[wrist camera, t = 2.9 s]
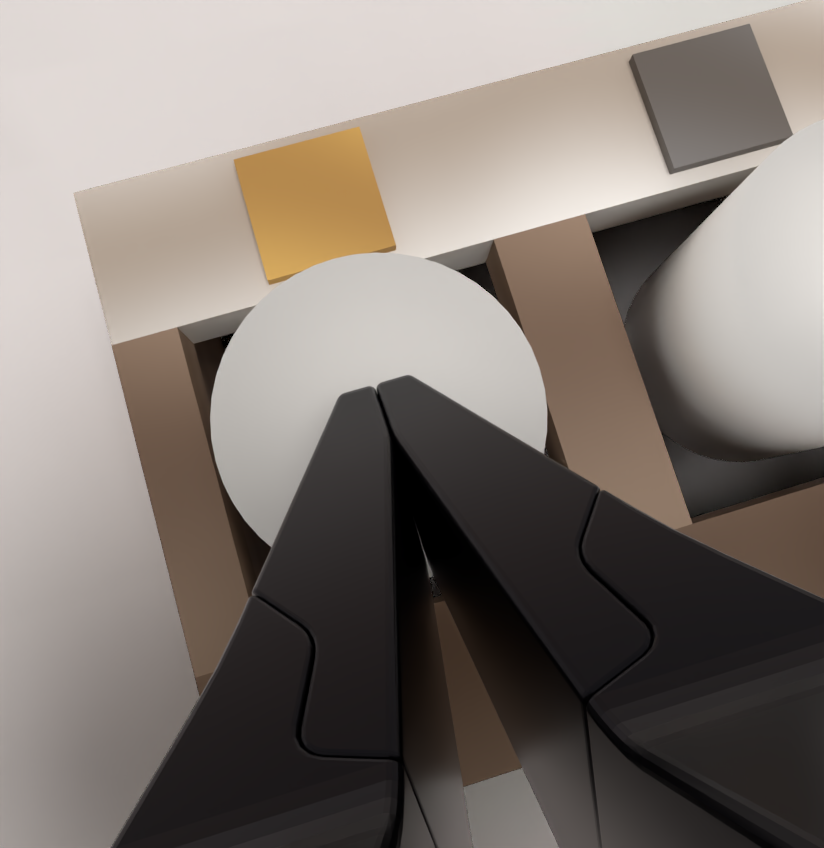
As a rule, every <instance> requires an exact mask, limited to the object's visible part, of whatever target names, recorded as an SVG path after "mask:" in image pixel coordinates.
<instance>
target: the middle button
mask: <svg viewBox="0 0 824 848" xmlns="http://www.w3.org/2000/svg"><path fill="white" fill-rule="evenodd" d="M624 328H625V330H626V333H627V336H628V339H629V342H630V345H631V348H632V351H633V353H634V356H635V359H636V362H637V365H638V368H639V371H640V374H641V377H642V379H643V382H644V385H645V388H646V391H647V394H648V397H649V400H650V402H651V405H652V408H653V411H654V414H655V417H656V420H657V423H658V426H659V428H660V431H661V432H663V433H664V434H665V435H666V436H668V437H669V438H670V439H671V440H673V441H674V442H676V443H677V444H679V445H681V446H682V447H684V448H686V449H688V450H690V451H692V452H694V453H697V454H699V455H702V456H705V457H708V458H712V459H716V460H722V461H728V462H750V461H759V460H764V459H769V458H773V457H778V456H783V455H787V454H792V453H797V452H802V451H806V450H811V449H816V448H821V447H824V119H823V120H820V121H817V122H815V123H813V124H811V125H809V126H807V127H805V128H804V129H802V130H800V131H798V132H797V133H795V134H794V135H792V136H791V137H790V138H788V139H787V140H785V141H784V142H783V143H782V144H780V145H779V146H778V147H777V148H776V149H775V150H774V151H773V152H772V153H771V154H770V155H769V156H768V157H767V158H766V159H765V160H764V161H763V162H762V163H761V164H760V165H759V166H758V167H757V168H756V169H755V170H754V171H753V172H752V173H751V174H750V175H749V176H748V177H747V178H746V179H745V180H744V181H743V182H742V183H741V184H740V185H739V186H738V187H737V188H736V189H735V190H734V191H733V192H732V193H731V194H730V195H729V196H728V197H727V198H726V199H725V200H724V201H723V202H722V203H721V204H720V205H719V206H718V207H717V208H716V209H715V210H714V211H713V212H712V213H711V214H710V215H709V216H708V218H707V219H706V220H705V221H704V222H703V223H702V224H701V225H700V226H699V227H698V228H697V229H696V230H695V231H694V232H693V233H692V234H691V235H690V236H689V237H688V238H687V239H686V240H685V241H684V242H683V243H682V244H681V245H680V246H679V247H678V248H677V249H676V250H675V251H674V252H673V253H672V254H671V255H670V256H669V257H668V258H667V259H666V260H665V261H664V262H663V263H662V264H661V265H660V266H659V267H658V268H657V269H656V270H655V271H654V272H653V273H652V274H651V275H650V276H649V277H648V279H647V280H646V281H645V282H644V284H643V285H642V286H641V287H640V289H639V291H638V292H637V294H636V295H635V297H634V299H633V301H632V303H631V306H630V308H629V310H628V313H627V317H626V320H625V324H624Z"/></svg>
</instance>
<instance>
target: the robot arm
mask: <svg viewBox="0 0 824 848" xmlns="http://www.w3.org/2000/svg"><path fill="white" fill-rule="evenodd" d="M376 389H377V392H376ZM376 389H375V388H374V387H371V386H367V387H363V388H360V389H356V390H353V391H349V392H346V393H343V394H341V395H340V396H339V397H338V399H337V401H336V403H335V405H334V408H333V410H332V412H331V414H330V417H329V419H328V421H327V423H326V426H325V428H324V430H323V432H322V435H321V437H320V439H319V441H318V444H317V446H316V448H315V450H314V453H313V455H312V457H311V459H310V462H309V464H308V466H307V468H306V471H305V473H304V475H303V477H302V480H301V482H300V484H299V486H298V489H297V491H296V493H295V495H294V498H293V500H292V502H291V504H290V507H289V509H288V511H287V513H286V516H285V518H284V520H283V522H282V525H281V527H280V529H279V531H278V534H277V536H276V538H275V540H274V543H273V545H272V547H271V549H270V552H269V554H268V556H267V558H266V561H265V563H264V565H263V567H262V570H261V572H260V574H259V576H258V579H257V581H256V583H255V586H254V588H253V590H252V596H250V597H249V598H248V600H247V603H246V605H245V607H244V609H243V612H242V614H241V616H240V618H239V621H238V623H237V625H236V627H235V629H234V631H233V633H232V635H231V638H230V640H229V642H228V644H227V646H226V648H225V650H224V652H223V654H222V656H221V658H220V660H219V662H218V664H217V666H216V668H215V670H214V672H213V674H212V676H211V677H210V679H209V681H208V683H207V685H206V686H205V688H204V690H203V692H202V693H201V695H200V697H199V699H198V701H197V702H196V704H195V706H194V708H193V709H192V711H191V713H190V715H189V717H188V718H187V720H186V722H185V724H184V725H183V727H182V729H181V730H180V732H179V734H178V735H177V737H176V739H175V740H174V742H173V744H172V745H171V747H170V749H169V750H168V752H167V754H166V755H165V757H164V759H163V760H162V762H161V764H160V766H159V767H158V769H157V771H156V772H155V774H154V776H153V777H152V779H151V781H150V782H149V784H148V786H147V787H146V789H145V791H144V792H143V794H142V796H141V797H140V799H139V801H138V802H137V804H136V806H135V808H134V809H133V811H132V813H131V814H130V816H129V818H128V819H127V821H126V823H125V824H124V826H123V828H122V829H121V831H120V833H119V834H118V836H117V838H116V839H115V841H114V843H113V844H112V846H111V848H473V844H472V838H471V832H470V826H469V819H468V813H467V807H466V801H465V794H464V788H463V782H462V776H461V770H460V763H459V757H458V751H457V745H456V738H455V732H454V726H453V720H452V714H451V707H450V701H449V695H448V689H447V682H446V676H445V670H444V664H443V657H442V651H441V645H440V639H439V633H438V626H437V620H436V614H435V608H434V601H433V595H432V589H431V583H430V578H429V573H428V568H427V563H426V559H425V556H424V552H425V555H426V558H427V561H428V564H429V566H430V569H431V571H432V573H433V576H434V578H435V580H436V583H437V585H438V587H439V589H440V591H441V594H442V596H443V598H444V600H445V602H446V604H447V606H448V609H449V611H450V613H451V615H452V617H453V619H454V622H455V624H456V626H457V628H458V630H459V632H460V634H461V637H462V639H463V641H464V643H465V645H466V647H467V650H468V652H469V654H470V656H471V658H472V660H473V662H474V665H475V667H476V669H477V671H478V673H479V675H480V677H481V680H482V682H483V684H484V686H485V688H486V690H487V693H488V695H489V697H490V699H491V701H492V703H493V705H494V708H495V710H496V712H497V714H498V716H499V718H500V721H501V723H502V725H503V727H504V729H505V731H506V733H507V736H508V738H509V740H510V742H511V744H512V746H513V749H514V751H515V753H516V755H517V757H518V759H519V761H520V764H521V766H522V768H523V770H524V772H525V774H526V777H527V779H528V781H529V783H530V785H531V787H532V789H533V792H534V794H535V796H536V798H537V800H538V802H539V805H540V807H541V809H542V811H543V813H544V815H545V817H546V820H547V822H548V824H549V826H550V828H551V830H552V833H553V835H554V837H555V839H556V841H557V843H558V845H559V848H824V598H822V597H819V596H817V595H815V594H813V593H811V592H808V591H806V590H804V589H802V588H800V587H797V586H795V585H793V584H791V583H789V582H786V581H784V580H782V579H780V578H778V577H775V576H773V575H771V574H769V573H767V572H764V571H762V570H760V569H758V568H755V567H753V566H751V565H749V564H747V563H744V562H742V561H740V560H738V559H736V558H733V557H731V556H729V555H727V554H725V553H722V552H720V551H718V550H716V549H714V548H712V547H710V546H708V545H706V544H704V543H702V542H700V541H698V540H696V539H693V538H691V537H689V536H687V535H685V534H683V533H681V532H679V531H677V530H675V529H673V528H671V527H669V526H667V525H666V524H664V523H662V522H660V521H658V520H657V519H655V518H653V517H651V516H649V515H647V514H646V513H644V512H642V511H640V510H638V509H637V508H635V507H633V506H631V505H629V504H628V503H626V502H624V501H623V500H621V499H619V498H618V497H616V496H614V495H613V494H611V493H609V492H608V491H606V490H601V491H600V488H599V487H598V486H597V485H595V484H594V483H592V482H590V481H588V480H587V479H585V478H583V477H582V476H580V475H578V474H577V473H575V472H573V471H572V470H570V469H568V468H567V467H565V466H563V465H562V464H560V463H558V462H557V461H555V460H553V459H551V458H550V457H548V456H546V455H545V454H543V453H541V452H540V451H538V450H536V449H535V448H533V447H531V446H530V445H528V444H526V443H525V442H523V441H521V440H520V439H518V438H516V437H514V436H513V435H511V434H509V433H508V432H506V431H504V430H503V429H501V428H499V427H498V426H496V425H494V424H493V423H491V422H489V421H488V420H486V419H484V418H483V417H481V416H479V415H477V414H476V413H474V412H472V411H471V410H469V409H467V408H466V407H464V406H462V405H461V404H459V403H457V402H456V401H454V400H452V399H451V398H449V397H447V396H446V395H444V394H442V393H440V392H439V391H437V390H435V389H434V388H432V387H430V386H429V385H427V384H425V383H424V382H422V381H420V380H419V379H417V378H415V377H414V376H411V375H404V376H401V377H397V378H394V379H391V380H387V381H384V382H381V383H379V384H378V385H377V388H376ZM418 533H419V534H418ZM420 540H421V541H420ZM421 543H422V545H421ZM422 546H423V548H422ZM423 549H424V552H423Z"/></svg>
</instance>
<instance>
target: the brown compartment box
mask: <svg viewBox="0 0 824 848" xmlns="http://www.w3.org/2000/svg"><path fill="white" fill-rule="evenodd" d="M823 119H824V0H806V1H802V2H798V3H795V4H791V5H787V6H783V7H779V8H776V9H772V10H768V11H764V12H760V13H757V14H753V15H749V16H745V17H741V18H737V19H734V20H730V21H726V22H722V23H718V24H715V25H711V26H707V27H703V28H699V29H696V30H692V31H688V32H684V33H680V34H677V35H673V36H669V37H665V38H661V39H658V40H654V41H650V42H646V43H642V44H639V45H635V46H631V47H627V48H623V49H619V50H616V51H612V52H608V53H604V54H600V55H597V56H593V57H589V58H585V59H581V60H578V61H574V62H570V63H566V64H562V65H559V66H555V67H551V68H547V69H543V70H540V71H536V72H532V73H528V74H524V75H521V76H517V77H513V78H509V79H505V80H502V81H498V82H494V83H490V84H486V85H482V86H479V87H475V88H471V89H467V90H463V91H460V92H456V93H452V94H448V95H444V96H441V97H437V98H433V99H429V100H425V101H422V102H418V103H414V104H410V105H406V106H403V107H399V108H395V109H391V110H387V111H384V112H380V113H376V114H372V115H368V116H364V117H361V118H357V119H353V120H349V121H345V122H342V123H338V124H334V125H330V126H326V127H323V128H319V129H315V130H311V131H307V132H304V133H300V134H296V135H292V136H288V137H285V138H281V139H277V140H273V141H269V142H266V143H262V144H258V145H254V146H250V147H247V148H243V149H239V150H235V151H231V152H227V153H224V154H220V155H216V156H212V157H208V158H205V159H201V160H197V161H193V162H189V163H186V164H182V165H178V166H174V167H170V168H167V169H163V170H159V171H155V172H151V173H148V174H144V175H140V176H136V177H132V178H129V179H125V180H121V181H117V182H113V183H109V184H106V185H102V186H98V187H94V188H90V189H87V190H83V191H79V192H75V193H73V194H74V198H75V202H76V206H77V210H78V214H79V218H80V222H81V226H82V230H83V233H84V237H85V241H86V245H87V249H88V253H89V257H90V261H91V265H92V269H93V273H94V277H95V281H96V285H97V289H98V293H99V297H100V301H101V305H102V309H103V313H104V317H105V321H106V325H107V329H108V333H109V337H110V341H111V345H112V349H113V353H114V357H115V361H116V365H117V369H118V373H119V377H120V381H121V385H122V389H123V393H124V397H125V401H126V405H127V409H128V413H129V417H130V421H131V425H132V429H133V433H134V437H135V441H136V445H137V449H138V453H139V457H140V461H141V465H142V469H143V473H144V476H145V480H146V484H147V488H148V492H149V496H150V500H151V504H152V508H153V512H154V516H155V520H156V524H157V528H158V532H159V536H160V540H161V544H162V548H163V552H164V556H165V560H166V564H167V568H168V572H169V576H170V580H171V584H172V588H173V592H174V596H175V600H176V604H177V608H178V612H179V616H180V620H181V624H182V628H183V632H184V636H185V640H186V644H187V648H188V652H189V656H190V660H191V664H192V668H193V672H194V676H195V680H196V684H197V688H198V692H199V696H200V695H201V693H202V692H203V690H204V688H205V686H206V685H207V683H208V681H209V679H210V677H211V676H212V674H213V672H214V670H215V668H216V666H217V664H218V662H219V660H220V658H221V656H222V654H223V652H224V650H225V648H226V646H227V644H228V642H229V640H230V638H231V635H232V633H233V631H234V629H235V627H236V625H237V623H238V621H239V618H240V616H241V614H242V612H243V609H244V607H245V605H246V603H247V600H248V598H249V597H250V596H252V590H253V588H254V586H255V583H256V581H257V579H258V576H259V574H260V572H261V570H262V567H263V565H264V563H265V561H266V558H267V556H268V554H269V552H270V549H271V546H269V545H268V544H267V543H266V542H265V541H263V540H262V539H261V538H260V537H259V536H258V535H257V534H256V532H255V531H254V530H253V529H252V528H251V527H250V526H249V525H248V524H247V522H246V521H245V520H244V519H243V517H242V516H241V514H240V513H239V511H238V510H237V508H236V507H235V505H234V504H233V502H232V500H231V498H230V496H229V494H228V492H227V490H226V488H225V486H224V484H223V482H222V479H221V476H220V473H219V470H218V467H217V464H216V461H215V456H214V451H213V446H212V441H211V425H210V412H211V399H212V392H213V388H214V383H215V378H216V374H217V371H218V368H219V366H220V363H221V360H222V357H223V354H224V352H225V351H224V347H223V343H222V340H221V337H222V336H225V335H229V334H232V333H235V332H236V330H237V329H238V327H239V326H240V325H241V323H242V322H243V320H244V319H245V317H246V316H247V315H248V314H249V313H250V312H251V311H252V309H253V308H254V307H255V306H256V305H257V304H258V303H259V302H260V301H261V300H262V299H263V298H264V297H265V296H266V295H268V294H269V293H270V292H271V291H272V290H273V289H275V288H276V287H277V286H279V285H280V284H282V283H283V282H285V281H286V280H288V279H289V278H291V277H292V276H294V275H295V274H298V273H300V272H302V271H304V270H306V269H308V268H310V267H312V266H314V265H317V264H320V263H323V262H325V261H328V260H331V259H334V258H339V257H344V256H349V255H354V254H364V253H397V254H403V255H409V256H415V257H420V258H423V259H426V260H430V261H433V262H436V263H439V264H442V265H444V266H446V267H448V268H450V269H453V270H455V271H458V270H462V269H465V268H469V267H472V266H476V265H479V264H483V263H486V264H487V268H488V271H489V274H490V277H491V280H492V283H493V286H494V289H495V292H496V295H497V298H498V301H499V303H500V304H501V305H502V306H503V307H504V308H505V309H506V310H507V311H508V312H509V314H510V315H511V316H512V318H513V319H514V320H515V322H516V323H517V324H518V326H519V327H520V328H521V330H522V332H523V334H524V335H525V337H526V339H527V341H528V342H529V344H530V346H531V348H532V350H533V353H534V355H535V358H536V360H537V363H538V365H539V368H540V372H541V376H542V380H543V384H544V387H545V395H546V403H547V435H546V442H545V446H546V449H547V452H548V455H549V457H550V458H551V459H553V460H555V461H557V462H558V463H560V464H562V465H563V466H565V467H567V468H568V469H570V470H572V471H573V472H575V473H577V474H578V475H580V476H582V477H583V478H585V479H587V480H588V481H590V482H592V483H594V484H595V485H597V486H598V487H599V488H600V491H601V490H606V491H608V492H609V493H611V494H613V495H614V496H616V497H618V498H619V499H621V500H623V501H624V502H626V503H628V504H629V505H631V506H633V507H635V508H637V509H638V510H640V511H642V512H644V513H646V514H647V515H649V516H651V517H653V518H655V519H657V520H658V521H660V522H662V523H664V524H666V525H667V526H669V527H671V528H673V529H675V530H677V531H679V532H681V533H683V534H685V535H687V536H689V537H691V538H693V539H696V540H698V541H700V542H702V543H704V544H706V545H708V546H710V547H712V548H714V549H716V550H718V551H720V552H722V553H725V554H727V555H729V556H731V557H733V558H736V559H738V560H740V561H742V562H744V563H747V564H749V565H751V566H753V567H755V568H758V569H760V570H762V571H764V572H767V573H769V574H771V575H773V576H775V577H778V578H780V579H782V580H784V581H786V582H789V583H791V584H793V585H795V586H797V587H800V588H802V589H804V590H806V591H808V592H811V593H813V594H815V595H817V596H819V597H822V598H824V477H823V478H819V479H816V480H813V481H810V482H806V483H803V484H800V485H797V486H793V487H790V488H787V489H784V490H780V491H777V492H774V493H771V494H767V495H764V496H761V497H758V498H754V499H751V500H748V501H745V502H741V503H738V504H735V505H732V506H729V507H725V508H722V509H719V510H716V511H712V512H709V513H706V514H703V515H699V516H696V517H693V518H690V515H689V512H688V509H687V506H686V503H685V501H684V498H683V495H682V492H681V489H680V486H679V483H678V480H677V477H676V475H675V472H674V469H673V466H672V463H671V460H670V457H669V454H668V452H667V449H666V446H665V443H664V440H663V437H662V434H661V431H660V428H659V426H658V423H657V420H656V417H655V414H654V411H653V408H652V405H651V402H650V400H649V397H648V394H647V391H646V388H645V385H644V382H643V379H642V377H641V374H640V371H639V368H638V365H637V362H636V359H635V356H634V353H633V351H632V348H631V345H630V342H629V339H628V336H627V333H626V330H625V328H624V325H623V322H622V319H621V316H620V313H619V310H618V307H617V304H616V302H615V299H614V296H613V293H612V290H611V287H610V284H609V281H608V278H607V276H606V273H605V270H604V267H603V264H602V261H601V258H600V255H599V253H598V250H597V247H596V244H595V241H594V238H593V235H592V233H594V232H598V231H601V230H605V229H608V228H612V227H616V226H619V225H623V224H626V223H630V222H633V221H637V220H641V219H644V218H648V217H651V216H655V215H659V214H662V213H666V212H669V211H673V210H676V209H680V208H684V207H687V206H691V205H694V204H698V203H702V202H705V201H709V200H712V199H716V198H719V197H723V196H727V195H730V194H731V193H732V192H733V191H734V190H735V189H736V188H737V187H738V186H739V185H740V184H741V183H742V182H743V181H744V180H745V179H746V178H747V177H748V176H749V175H750V174H751V173H752V172H753V171H754V170H755V169H756V168H757V167H758V166H759V165H760V164H761V163H762V162H763V161H764V160H765V159H766V158H767V157H768V156H769V155H770V154H771V153H772V152H773V151H774V150H775V149H776V148H777V147H778V146H779V145H780V144H782V143H783V142H784V141H785V140H787V139H788V138H790V137H791V136H792V135H794V134H795V133H797V132H798V131H800V130H802V129H804V128H805V127H807V126H809V125H811V124H813V123H815V122H817V121H820V120H823ZM433 601H434V608H435V614H436V620H437V626H438V633H439V639H440V645H441V651H442V657H443V664H444V670H445V676H446V682H447V689H448V695H449V701H450V707H451V714H452V720H453V726H454V732H455V738H456V745H457V751H458V757H459V763H460V770H461V776H462V782H463V787H465V786H468V785H471V784H474V783H477V782H480V781H483V780H486V779H489V778H492V777H495V776H498V775H501V774H505V773H508V772H511V771H514V770H517V769H520V768H522V766H521V764H520V761H519V759H518V757H517V755H516V753H515V751H514V749H513V746H512V744H511V742H510V740H509V738H508V736H507V733H506V731H505V729H504V727H503V725H502V723H501V721H500V718H499V716H498V714H497V712H496V710H495V708H494V705H493V703H492V701H491V699H490V697H489V695H488V693H487V690H486V688H485V686H484V684H483V682H482V680H481V677H480V675H479V673H478V671H477V669H476V667H475V665H474V662H473V660H472V658H471V656H470V654H469V652H468V650H467V647H466V645H465V643H464V641H463V639H462V637H461V634H460V632H459V630H458V628H457V626H456V624H455V622H454V619H453V617H452V615H451V613H450V611H449V609H448V606H447V604H446V602H445V600H444V598H443V596H442V595H440V596H437V597H434V598H433Z"/></svg>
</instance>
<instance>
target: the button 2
mask: <svg viewBox="0 0 824 848" xmlns="http://www.w3.org/2000/svg"><path fill="white" fill-rule="evenodd" d="M404 375H411V376H414V377H415V378H417V379H419V380H420V381H422V382H424V383H425V384H427V385H429V386H430V387H432V388H434V389H435V390H437V391H439V392H440V393H442V394H444V395H446V396H447V397H449V398H451V399H452V400H454V401H456V402H457V403H459V404H461V405H462V406H464V407H466V408H467V409H469V410H471V411H472V412H474V413H476V414H477V415H479V416H481V417H483V418H484V419H486V420H488V421H489V422H491V423H493V424H494V425H496V426H498V427H499V428H501V429H503V430H504V431H506V432H508V433H509V434H511V435H513V436H514V437H516V438H518V439H520V440H521V441H523V442H525V443H526V444H528V445H530V446H531V447H533V448H535V449H536V450H538V451H540V452H541V453H543V454H544V449H545V442H546V435H547V403H546V395H545V387H544V384H543V380H542V376H541V372H540V368H539V365H538V363H537V360H536V358H535V355H534V353H533V350H532V348H531V346H530V344H529V342H528V341H527V339H526V337H525V335H524V334H523V332H522V330H521V328H520V327H519V326H518V324H517V323H516V322H515V320H514V319H513V318H512V316H511V315H510V314H509V312H508V311H507V310H506V309H505V308H504V307H503V306H502V305H501V304H500V303H499V302H498V301H497V300H496V299H495V298H494V297H493V296H492V295H491V294H490V293H488V292H487V291H486V290H485V289H483V288H482V287H481V286H480V285H478V284H477V283H476V282H474V281H472V280H471V279H469V278H467V277H466V276H464V275H462V274H461V273H459V272H457V271H455V270H453V269H450V268H448V267H446V266H444V265H442V264H439V263H436V262H433V261H430V260H426V259H423V258H420V257H415V256H409V255H403V254H397V253H364V254H354V255H349V256H344V257H339V258H334V259H331V260H328V261H325V262H323V263H320V264H317V265H314V266H312V267H310V268H308V269H306V270H304V271H302V272H300V273H298V274H295V275H294V276H292V277H291V278H289V279H288V280H286V281H285V282H283V283H282V284H280V285H279V286H277V287H276V288H275V289H273V290H272V291H271V292H270V293H269V294H268V295H266V296H265V297H264V298H263V299H262V300H261V301H260V302H259V303H258V304H257V305H256V306H255V307H254V308H253V309H252V311H251V312H250V313H249V314H248V315H247V316H246V317H245V319H244V320H243V322H242V323H241V325H240V326H239V327H238V329H237V330H236V332H235V333H234V335H233V337H232V339H231V341H230V342H229V344H228V346H227V348H226V350H225V352H224V354H223V357H222V360H221V363H220V366H219V368H218V371H217V374H216V378H215V383H214V388H213V392H212V399H211V412H210V425H211V441H212V446H213V451H214V456H215V461H216V464H217V467H218V470H219V473H220V476H221V479H222V482H223V484H224V486H225V488H226V490H227V492H228V494H229V496H230V498H231V500H232V502H233V504H234V505H235V507H236V508H237V510H238V511H239V513H240V514H241V516H242V517H243V519H244V520H245V521H246V522H247V524H248V525H249V526H250V527H251V528H252V529H253V530H254V531H255V532H256V534H257V535H258V536H259V537H260V538H261V539H262V540H263V541H265V542H266V543H267V544H268V545H269V546H271V547H272V545H273V543H274V540H275V538H276V536H277V534H278V531H279V529H280V527H281V525H282V522H283V520H284V518H285V516H286V513H287V511H288V509H289V507H290V504H291V502H292V500H293V498H294V495H295V493H296V491H297V489H298V486H299V484H300V482H301V480H302V477H303V475H304V473H305V471H306V468H307V466H308V464H309V462H310V459H311V457H312V455H313V453H314V450H315V448H316V446H317V444H318V441H319V439H320V437H321V435H322V432H323V430H324V428H325V426H326V423H327V421H328V419H329V417H330V414H331V412H332V410H333V408H334V405H335V403H336V401H337V399H338V397H339V396H340V395H341V394H343V393H346V392H349V391H353V390H356V389H360V388H363V387H367V386H371V387H374V388H375V389H376V388H377V385H378V384H379V383H381V382H384V381H387V380H391V379H394V378H397V377H401V376H404ZM376 392H377V389H376ZM418 534H419V533H418ZM420 541H421V540H420ZM421 545H422V543H421ZM422 548H423V546H422ZM423 552H424V549H423ZM424 556H425V559H426V563H427V568H428V573H429V578H430V577H433V573H432V571H431V569H430V566H429V564H428V561H427V558H426V555H425V552H424Z"/></svg>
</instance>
